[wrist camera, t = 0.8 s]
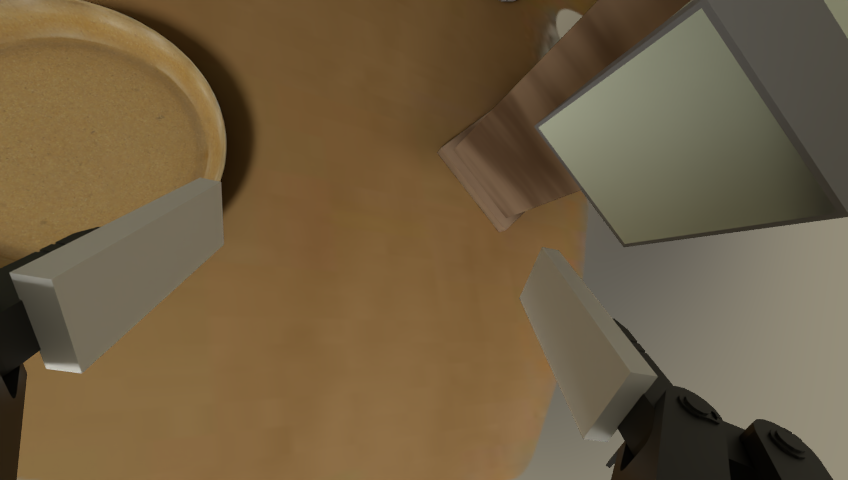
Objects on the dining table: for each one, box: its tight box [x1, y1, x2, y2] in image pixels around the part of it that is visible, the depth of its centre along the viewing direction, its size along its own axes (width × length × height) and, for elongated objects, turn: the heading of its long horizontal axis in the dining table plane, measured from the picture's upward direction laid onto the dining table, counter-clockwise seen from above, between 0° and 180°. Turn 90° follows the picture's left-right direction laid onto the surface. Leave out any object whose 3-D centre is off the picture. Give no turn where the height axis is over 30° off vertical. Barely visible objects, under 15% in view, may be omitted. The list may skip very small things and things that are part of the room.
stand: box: [437, 0, 691, 232], centre depth 30 cm, size 20×12×28 cm, turn 131°
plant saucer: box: [0, 0, 227, 268], centre depth 28 cm, size 24×24×3 cm
